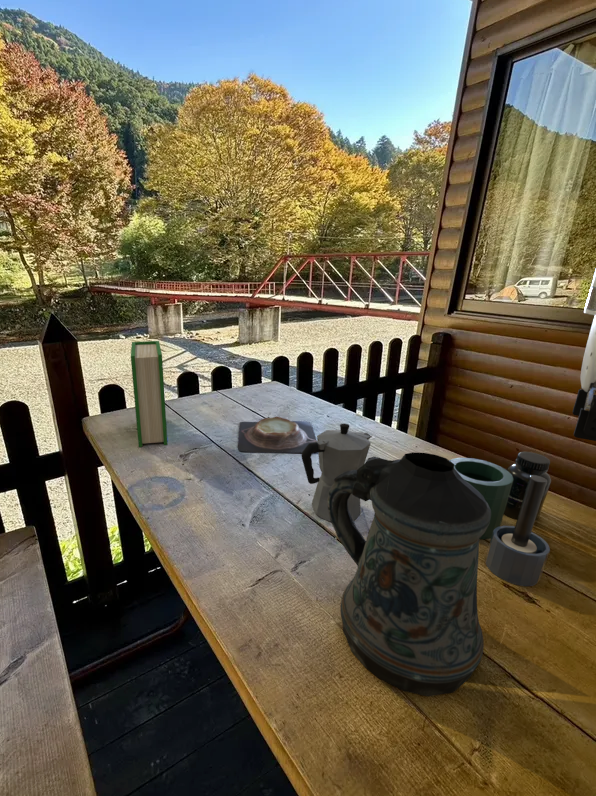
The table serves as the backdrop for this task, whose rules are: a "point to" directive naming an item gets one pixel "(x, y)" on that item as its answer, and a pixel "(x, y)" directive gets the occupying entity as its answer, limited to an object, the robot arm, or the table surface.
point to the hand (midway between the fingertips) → (587, 427)
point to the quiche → (275, 435)
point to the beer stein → (413, 571)
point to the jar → (487, 486)
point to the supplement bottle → (525, 480)
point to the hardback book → (149, 392)
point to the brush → (527, 517)
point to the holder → (516, 559)
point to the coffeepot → (335, 464)
